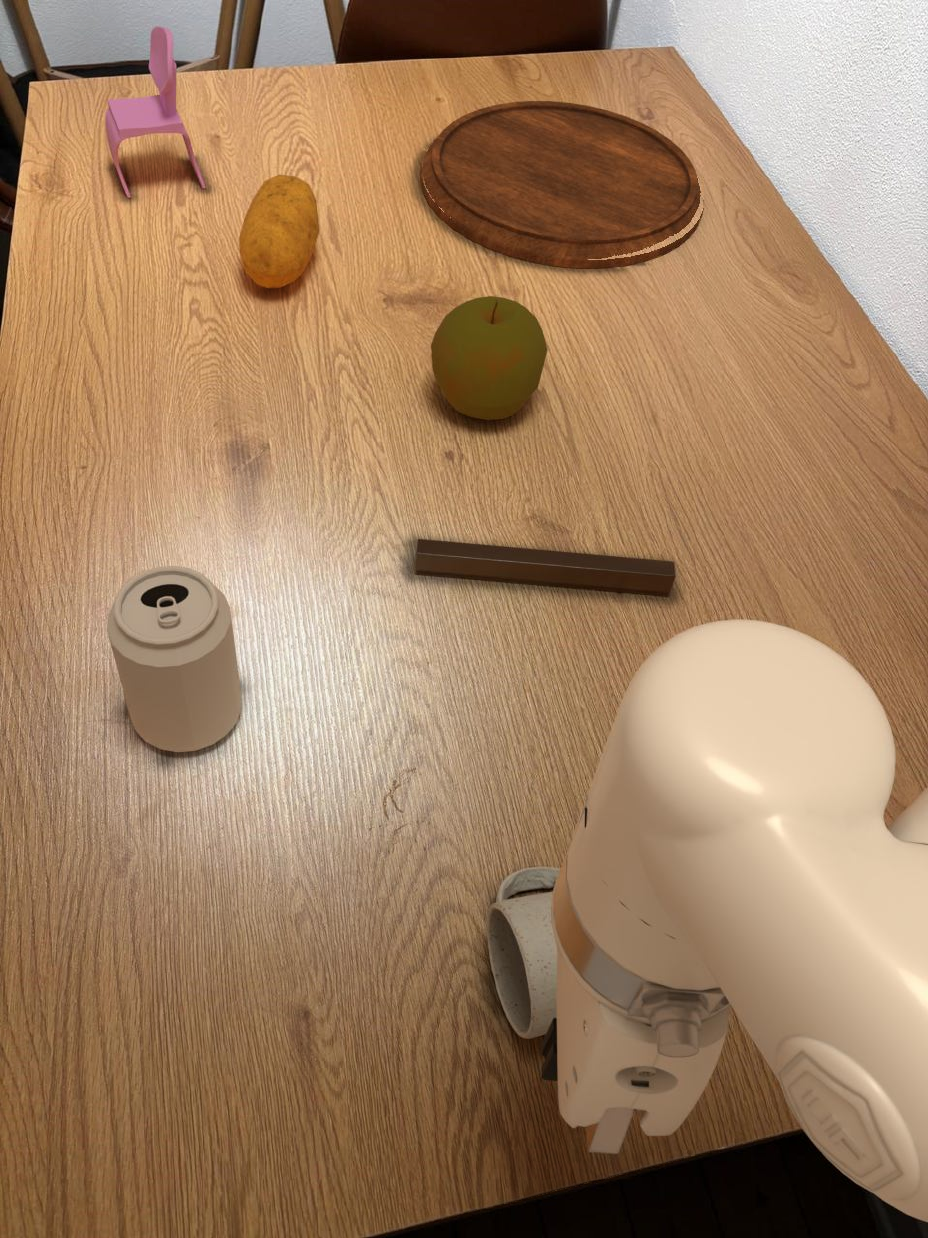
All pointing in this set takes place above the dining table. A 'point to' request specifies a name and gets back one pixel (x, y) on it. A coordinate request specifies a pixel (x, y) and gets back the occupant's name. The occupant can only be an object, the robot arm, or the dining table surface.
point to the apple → (488, 357)
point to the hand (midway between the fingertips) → (573, 1065)
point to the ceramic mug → (525, 951)
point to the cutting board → (561, 184)
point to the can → (176, 658)
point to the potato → (279, 231)
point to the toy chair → (150, 105)
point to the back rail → (544, 567)
